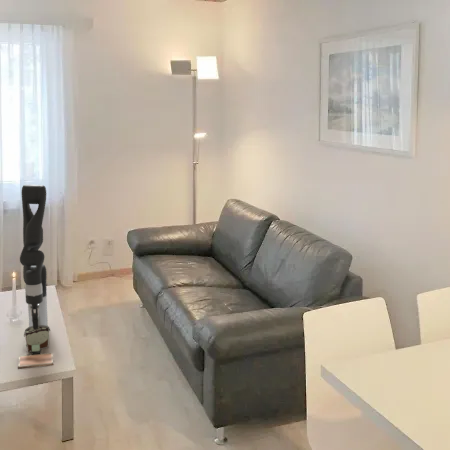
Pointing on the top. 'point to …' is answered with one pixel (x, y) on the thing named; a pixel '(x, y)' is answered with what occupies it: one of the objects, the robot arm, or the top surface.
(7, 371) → the top surface
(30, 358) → the picture board
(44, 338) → the food container
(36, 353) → the button base
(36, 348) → the button
